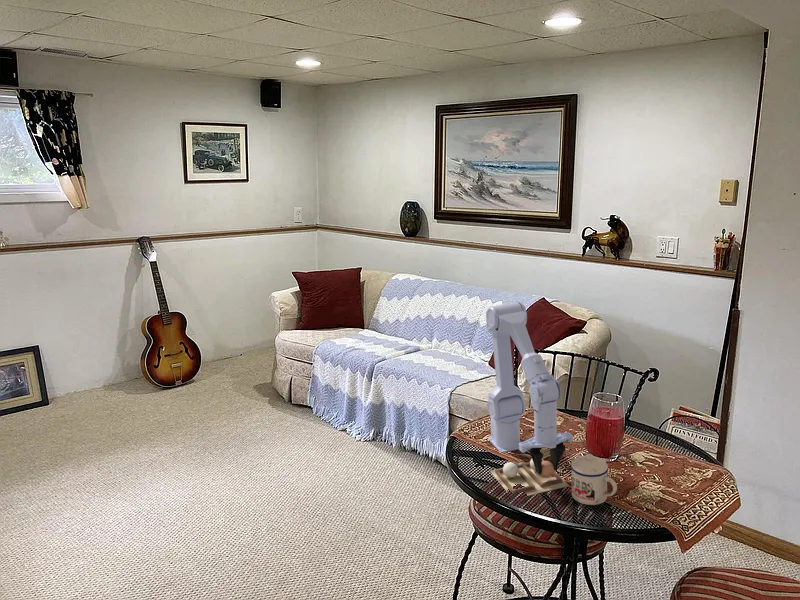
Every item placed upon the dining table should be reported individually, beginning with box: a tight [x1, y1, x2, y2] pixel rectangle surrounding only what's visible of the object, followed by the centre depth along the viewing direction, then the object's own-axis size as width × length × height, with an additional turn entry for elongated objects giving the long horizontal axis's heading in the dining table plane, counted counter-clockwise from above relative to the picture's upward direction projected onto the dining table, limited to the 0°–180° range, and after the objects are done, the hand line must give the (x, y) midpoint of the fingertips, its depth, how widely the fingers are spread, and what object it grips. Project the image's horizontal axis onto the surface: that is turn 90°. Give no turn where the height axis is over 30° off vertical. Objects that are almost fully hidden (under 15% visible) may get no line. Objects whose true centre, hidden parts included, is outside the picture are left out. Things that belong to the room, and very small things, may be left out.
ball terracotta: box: [541, 460, 555, 476], centre depth 176 cm, size 4×4×4 cm
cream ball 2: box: [529, 458, 545, 471], centre depth 181 cm, size 4×4×4 cm
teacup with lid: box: [570, 453, 618, 506], centre depth 166 cm, size 12×9×12 cm
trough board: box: [489, 461, 570, 497], centre depth 179 cm, size 15×16×1 cm
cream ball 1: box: [502, 461, 518, 478], centre depth 180 cm, size 4×4×4 cm
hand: (546, 470), depth 177 cm, fingers closed on ball terracotta, 4 cm apart
